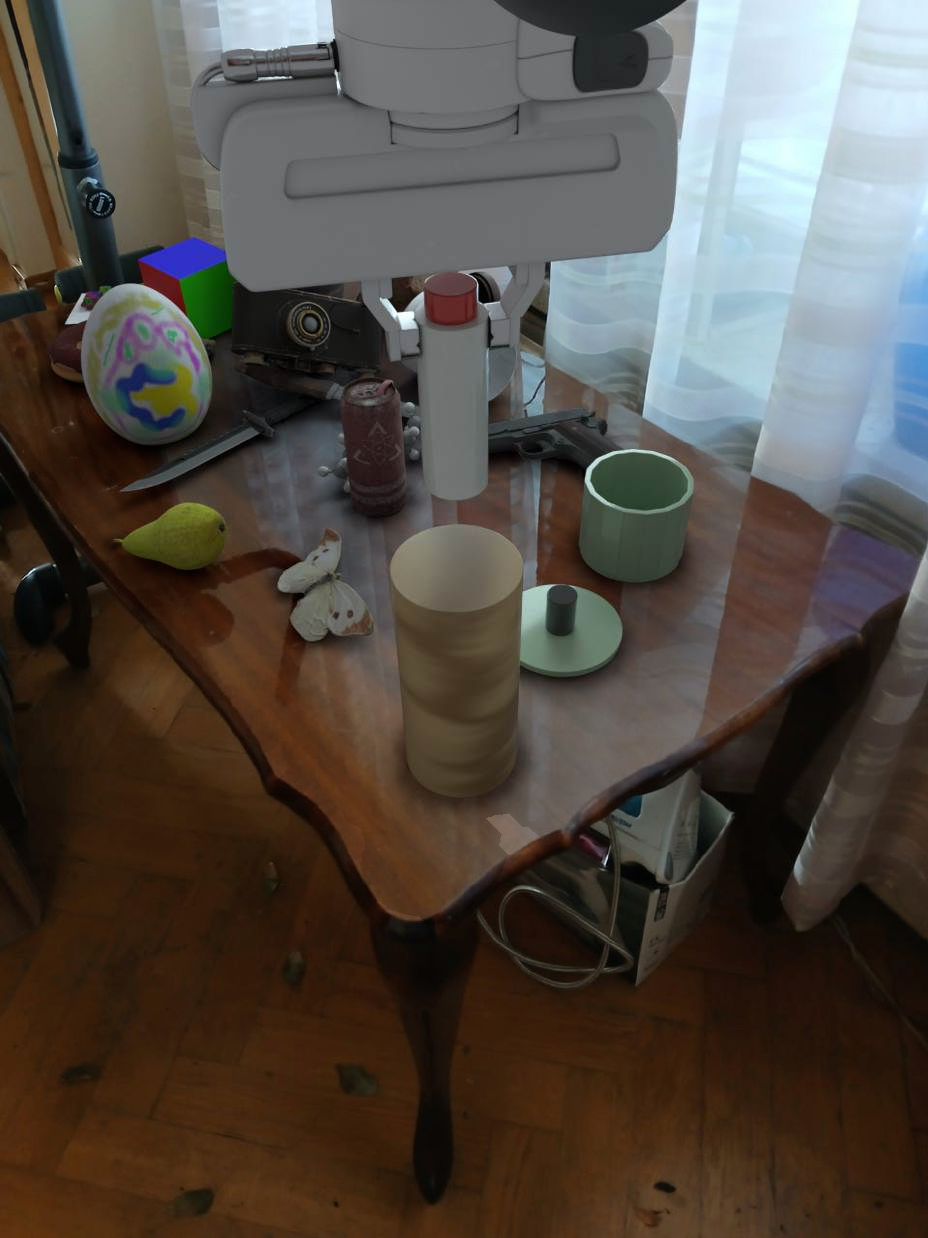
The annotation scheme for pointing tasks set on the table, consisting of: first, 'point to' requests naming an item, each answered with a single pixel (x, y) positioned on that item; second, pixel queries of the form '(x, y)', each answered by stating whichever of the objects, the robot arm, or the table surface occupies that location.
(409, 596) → the pedestal
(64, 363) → the donut
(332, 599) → the butterfly
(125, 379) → the decorative egg
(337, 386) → the knife
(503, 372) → the light fixture
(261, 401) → the table surface
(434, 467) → the spice bottle
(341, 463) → the molecular model
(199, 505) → the fruit
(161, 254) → the cube
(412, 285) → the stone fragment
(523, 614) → the pot lid
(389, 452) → the can
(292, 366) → the camera
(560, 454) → the handgun
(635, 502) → the pot
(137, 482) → the knife
